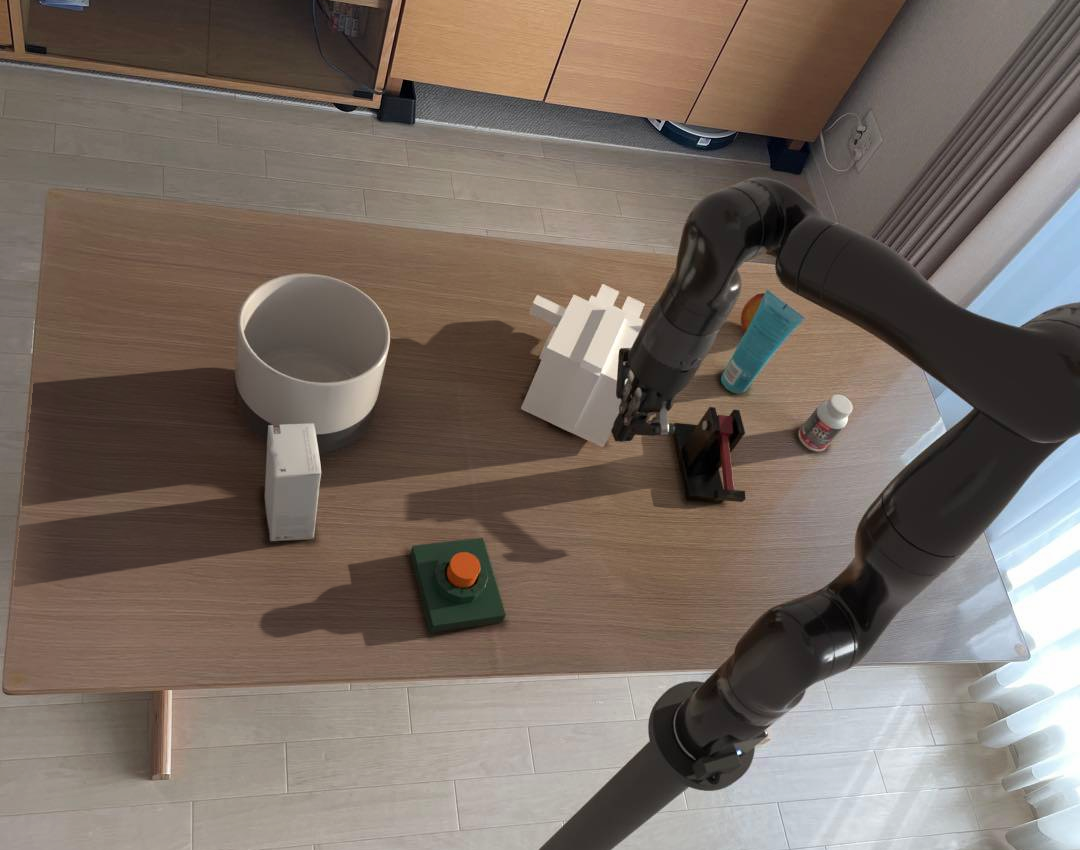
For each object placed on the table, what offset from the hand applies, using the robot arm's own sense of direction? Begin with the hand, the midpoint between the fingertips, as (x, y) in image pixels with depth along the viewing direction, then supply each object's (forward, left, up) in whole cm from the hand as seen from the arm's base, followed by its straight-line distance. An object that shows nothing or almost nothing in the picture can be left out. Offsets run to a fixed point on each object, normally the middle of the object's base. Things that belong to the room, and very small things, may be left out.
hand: (620, 436), depth 121 cm
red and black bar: (+7, -27, -19) cm, 34 cm away
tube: (+28, -42, -27) cm, 57 cm away
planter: (+27, +31, -27) cm, 49 cm away
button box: (-4, +16, -27) cm, 32 cm away
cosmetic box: (+10, +36, -27) cm, 46 cm away
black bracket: (+12, -28, -27) cm, 41 cm away
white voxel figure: (+31, -15, -27) cm, 44 cm away
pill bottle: (+15, -52, -27) cm, 61 cm away
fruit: (+39, -51, -27) cm, 70 cm away
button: (-4, +16, -23) cm, 29 cm away
